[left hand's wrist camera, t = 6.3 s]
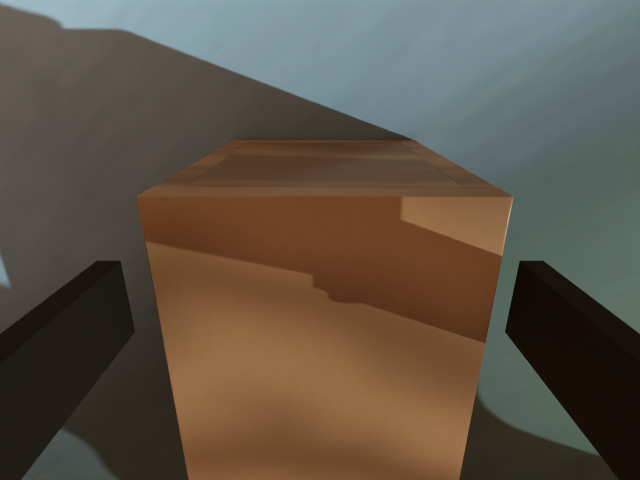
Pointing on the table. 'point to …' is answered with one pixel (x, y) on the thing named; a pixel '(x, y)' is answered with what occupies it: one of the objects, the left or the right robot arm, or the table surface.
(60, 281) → the table surface
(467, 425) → the cabinet
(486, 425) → the table surface
